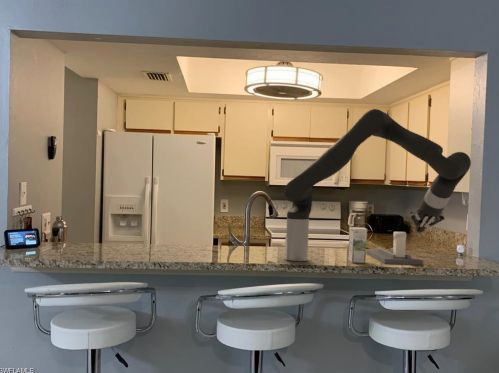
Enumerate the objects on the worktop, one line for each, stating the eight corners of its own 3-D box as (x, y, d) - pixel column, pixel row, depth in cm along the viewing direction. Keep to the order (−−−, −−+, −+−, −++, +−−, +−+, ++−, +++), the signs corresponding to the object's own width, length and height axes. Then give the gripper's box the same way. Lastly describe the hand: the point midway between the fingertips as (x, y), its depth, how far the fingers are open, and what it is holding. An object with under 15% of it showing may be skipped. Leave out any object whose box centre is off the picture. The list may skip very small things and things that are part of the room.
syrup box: (361, 261, 173) (362, 226, 173) (365, 263, 167) (367, 228, 167) (348, 260, 172) (349, 226, 172) (352, 263, 167) (353, 228, 166)
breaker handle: (395, 257, 171) (396, 232, 171) (392, 255, 175) (393, 231, 175) (405, 257, 172) (406, 232, 172) (402, 256, 175) (403, 231, 175)
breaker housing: (384, 263, 168) (384, 255, 168) (366, 253, 192) (366, 246, 192) (422, 264, 168) (422, 256, 168) (399, 254, 192) (399, 247, 192)
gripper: (450, 193, 146) (432, 223, 158) (414, 191, 145) (399, 222, 158) (457, 208, 140) (439, 239, 153) (420, 207, 140) (404, 238, 152)
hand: (418, 230), depth 155 cm, fingers closed
